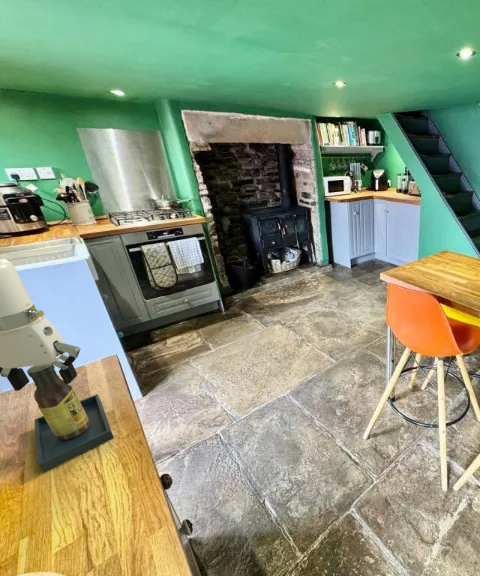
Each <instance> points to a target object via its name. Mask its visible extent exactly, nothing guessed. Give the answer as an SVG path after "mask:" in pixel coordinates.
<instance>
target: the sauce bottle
mask: <svg viewBox="0 0 480 576" xmlns="http://www.w3.org/2000/svg"><path fill="white" fill-rule="evenodd" d="M55 367H56V366H54V365H52V364H51V363H50V364H44V365H36V366H30V367H29V368H28V369H27V371H26V373H27V375H28V376H29V377H30V378H31V379H32V381H33V383H34V386H35V390H34V393H33V399H34V400H35V402H36V404H37V406H38V409H39V411H40V413H41V414H42V416H44V418H45V419H46V421H47V423H48V425H49V426H50V428H51V430H52V431H53V433H54V434H55V435H56V436H57V438H58V439H60V440H68V439H71V438H74V437H77V436H78V435H80V434H81V433H83V432H84V431H85V430H86V429H87V428H88V427H89V421H88V417H87V415H86V413H85V411H84V409H83V407H82V405H81V403H80V401H81V400H80V399H79V397H78V395H77V393H76V391H75V390H74V387H73V386H72V385H71V384H65V383H64V381H63V379H62V378H60V375H58V373H57V371H56V370H55Z"/></svg>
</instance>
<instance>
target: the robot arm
mask: <svg viewBox="0 0 480 576" xmlns="http://www.w3.org/2000/svg"><path fill="white" fill-rule="evenodd" d="M44 314H45V311H43V310H41V309H40V310H39V309H37V308H36V306H35V304H34V302H33V299H32V298H31V296H30V294H29V291H28V290H27V288H26V287H25V285H24V282H23V281H22V279H21V277H20V275H19V273H18V271H17V268H16V267H15V266H14V264H13V263H12V262H11V261H9V260H8V259H4V258H0V377H2V378H6V379H7V380H8V383H10V385H11V386H12V389H13V390H14V391H15V392H18V391H21V390H22V389H24V387H25V386H27V385H28V384H29V383H30V379H29V377H28V376H27V374H26V373H25V370H24V369H23V368H26V367H33V366H36V365H44V364H50V363H51V364H52V365H54V367H56V368H58V369H59V370H58V374H59V376H60V377H61V379H62V380H63V381H64V383H65V384H69V385H71V383H72V382H73V381H74V380H75V379H76V378H77V376H78V372H77V370H76V368H75V366H74V364H73V363H74V362H75V361H76V359H78V357H79V354H80V351H81V347H79V346H76V345H71V344H68V343H66V342H65V341H64V339H63V337H62V335H61V334H60V332H59V331H58V329H57V328H56V327H55V325H54V324H53V323H52V322H51V321H50V320H49V319H48V318H47V317H46V316H44ZM66 353H67V354H68V355H67V354H66Z"/></svg>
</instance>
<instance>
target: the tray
mask: <svg viewBox="0 0 480 576" xmlns="http://www.w3.org/2000/svg"><path fill="white" fill-rule="evenodd" d="M79 401H80V403H81V405H82V407H83V409H84V411H85V413H86V415H87V417H88V421H89V427H88V428H87V429H86V430H85V431H84V432H83V433H81V434H80V435H78V436H77V437H74V438H71V439H68V440H60V439H58V438H57V436H56V435H55V434H54V433H53V431H52V430H51V428H50V426H49V425H48V423H47V421H46V419H45V418H44V416H43V415H42V416H39V417H37V418H35V419H34V431H35V443H36V454H37V465H38V467H39V469H40V470H41V472H42V473H46V472H47V471H50V470H52V469H54V468H57V467H58V466H60V465H63V464H64V463H66V462H68V461H70V460H72V459H74V458H76V457H78V456H81V455H82V454H84V453H87V452H88V451H90V450H92V449H95V448H96V447H98V446H101V445H102V444H104V443H107V442H108V441H110V440H112V439H114V438H115V437H114V434H113V431H112V428H111V426H110V423H109V420H108V417H107V415H106V412H105V409H104V406H103V404H102V400H101V398H100V395H99V394H98V393H97V394H94V395H91V396H89V397H86V398H84V399H82V400H79Z"/></svg>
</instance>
